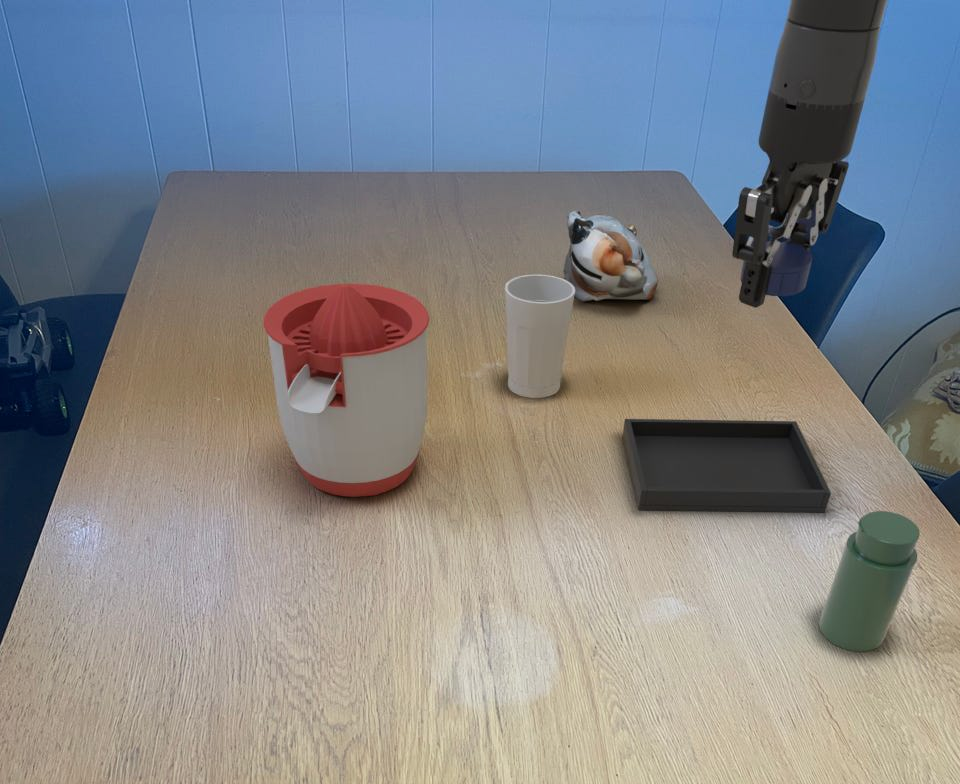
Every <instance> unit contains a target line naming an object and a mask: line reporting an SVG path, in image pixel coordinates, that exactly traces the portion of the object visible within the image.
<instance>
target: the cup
mask: <svg viewBox="0 0 960 784" xmlns="http://www.w3.org/2000/svg"><path fill="white" fill-rule="evenodd" d="M564 279H565V278H561V277H559V276H556V275H555V276H554V275H549V274H525V275H520V276H515V277H514V278H512V279H510V280H509V281H507V282H506V283H505V285H504V297H505V298H504V299H505V301H504V302H505V317H506V318H505V319H506V343H507V344H506V345H507V346H506V347H507V367H508V368H507V372H508V373H507V375H508V378H507V387H508V389H509V390H510V392H512V393H514V394H515V395H518V396H521V397H523V398H530V399H542V398H547V397H551V396H553V395H556V394H557V393H558V392H559V390H560V389H561V378H562V373H563V372H562V371H563V365H564V359H565V353H566V347H567V341H568V337H569V336H568V335H569V329H570V323H571V317H572V311H573V306H574V300H575V296H574V295H575V288H574V286H573V285H572V284H571V283H570V282H568V281H566V280H564Z"/></svg>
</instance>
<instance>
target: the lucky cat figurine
mask: <svg viewBox="0 0 960 784" xmlns="http://www.w3.org/2000/svg"><path fill="white" fill-rule="evenodd" d="M566 222H567V223H566V225H567V230H568V237H569V242H570V245H569V249H568V252H567V254H566V256H565V260H564V266H563V274H564V278H563V279H564V280H566V281H568V282H570V283H571V284H572V285H573V286H574V288H575V295H574V298H576V299H577V300H578V301H581V302H582V303H583V302H584V303H585V302H589V301H595V302H596V301H597V302H598V301H602V300H636V301H637V300H642V301H643V300H644V301H650V300H651V299H652V297H653V295H654V292H655V291H656V289H657V288H658V284H659V278H658V275H657V273H656V271H655V268H654V267H653V266H652V264H651V262H650V260H649V257H648V254H647V252H646V250H645V249H644V247H643V245H642V244H641V242H640V240H639V239H638V238H637V235H638V230H637V228H636V226H635V225H633V224H632V223H631V224H628V225H626V226H625V224H622V223H621V221H619V219H615V218H614V217H613V216H611V215H605V214H594V215H591V216H588V217H587V218H584V217H583V215H582V214H581V211H580V210H575V209H574V210H573V211H571V212H570V213H567V221H566Z"/></svg>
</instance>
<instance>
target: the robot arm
mask: <svg viewBox="0 0 960 784" xmlns="http://www.w3.org/2000/svg"><path fill="white" fill-rule="evenodd" d="M887 4H888V0H790V1H789V6H788V12H787V16H786V20H785V23H784V27H783V30H782V34H781V37H780V40H779V43H778V46H777V49H776V52H775V58H774V62H773V67H772V72H771V77H770V82H769V87H768V91H767V98H766V102H765V106H764V111H763V116H762V121H761V126H760V130H759V135H758V146H759V148H760V149H761V151H763V152H764V153H765V154H766V155H767V157H768V160H769V163H768V165H767V168H766V171H765V174H764V175H763V177H762V180H761V184H760V185H759V186H758V187H756V188H751V187H747V186H745V187H743V188H742V190H741V191H740V192H739V197H738V204H737V213H736V221H735V228H734V229H735V230H734V236H733V245H732V255H731V256H732V258H734V259H736V260H741V261H743V262H744V261H745V262H746V266H745V270H744V275H743V280H742V282H741V285H740V289H739V294H738V300H739V302H740V303H742V304H744V305H746V306H749V307H752V308H755V309H756V308H758V307H761V306H762V305H764V303H765V300H766V296H767V295H766V292H767V287H768V283H769V279H770V274H771V270H772V265H771V264H772V262H773V260H774V258H775V256H776V253H777V251H778V249H779V246H780V244H781V242H786V243H791V244H795V245H798V246H800V247H802V248H804V249H806V250H807V251H809V252H810V251H811V246H814V245H815V244H816V243H817V240H818V237H819V233H821V234H826V233H827V232H828V230H829V228H830V225H831V222H832V219H833V217H834V212H835V210H836V206H837V204H838V201H839V198H840V195H841V192H842V188H843V186H844V184H845V183H844V182H845V179H846V176H847V174H848V171H849V166H850V163H849V162H848V161H845V159H846V158H847V157H849V155H850V154H851V152H852V150H853V145H854V142H855V137H856V134H857V130H858V126H859V122H860V118H861V114H862V112H863V108H864V104H865V100H866V96H867V93H868V89H869V85H870V81H871V78H872V74H873V70H874V65H875V62H876V57H877V49H878V42H879V35H880V31H881V25H882V23H883V19H884V16H885V12H886V9H887ZM770 222H774V223H777V224H780V225H779V226H773V225H771V224H770ZM747 237H748V240H747ZM768 237H770V240H769V241H770V242H769V244H768V247H767V249H766V243H767V242H768ZM765 250H766V251H765Z"/></svg>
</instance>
